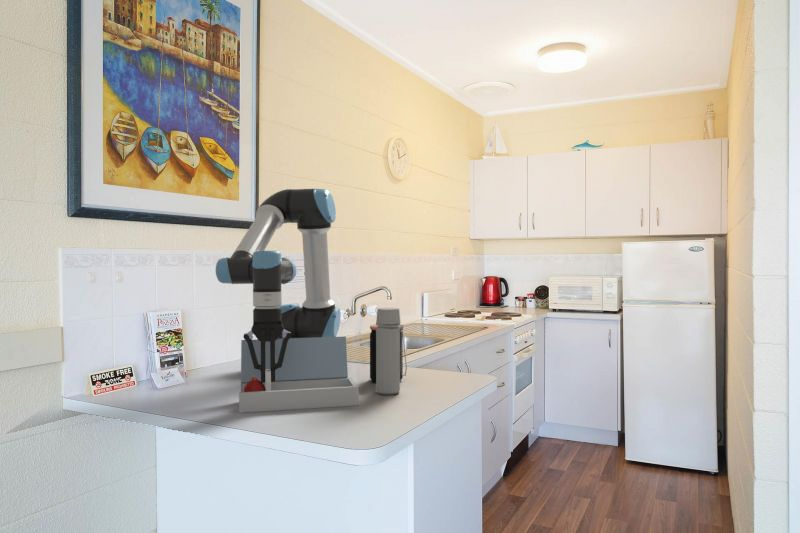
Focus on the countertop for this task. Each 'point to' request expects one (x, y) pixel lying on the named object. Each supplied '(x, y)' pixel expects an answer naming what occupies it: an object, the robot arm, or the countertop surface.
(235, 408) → the countertop surface
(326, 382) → the grey tray
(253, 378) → the onion
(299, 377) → the cover
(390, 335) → the water bottle
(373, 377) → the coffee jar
